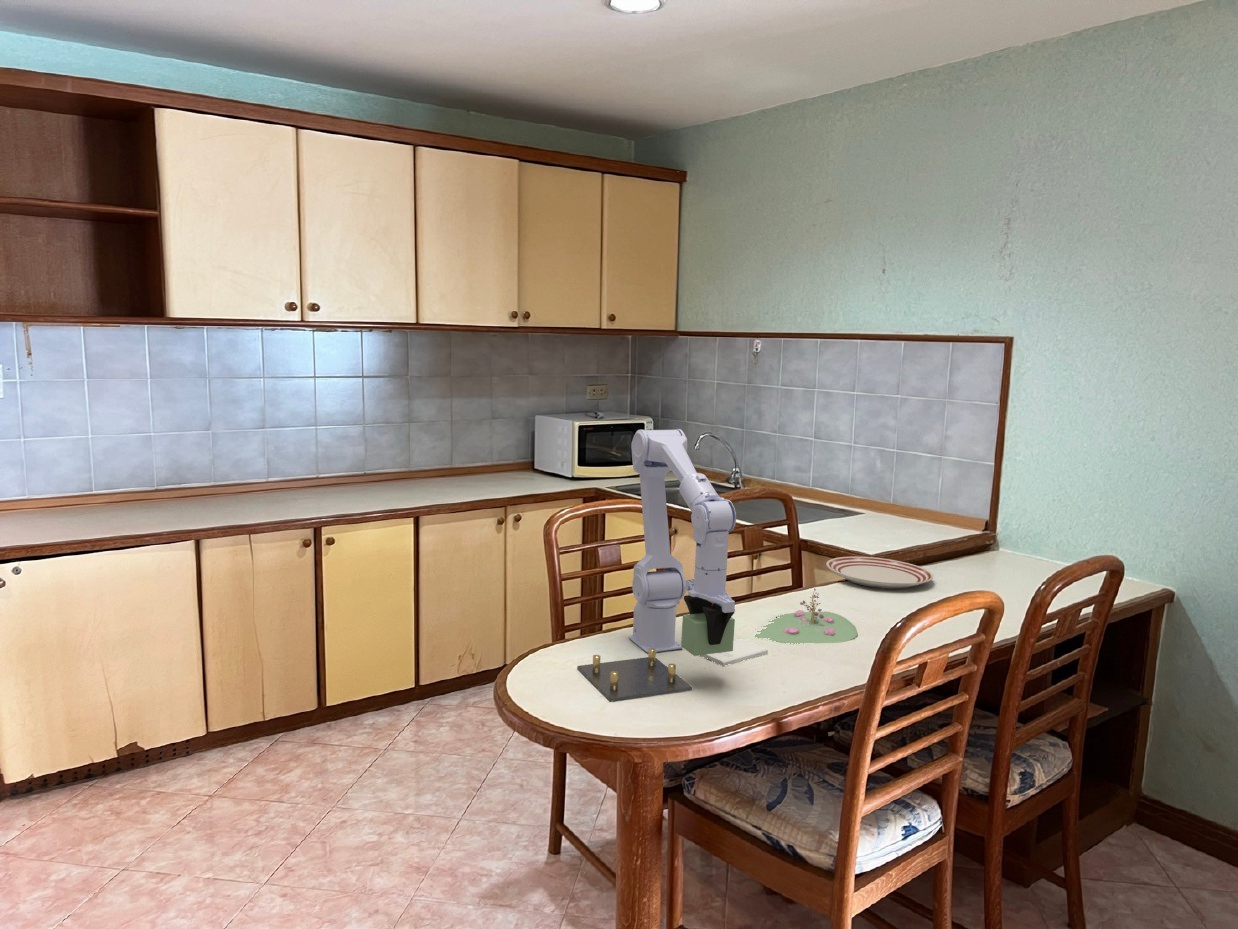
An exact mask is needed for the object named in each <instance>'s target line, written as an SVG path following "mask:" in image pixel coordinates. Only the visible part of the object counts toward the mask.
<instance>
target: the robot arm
mask: <svg viewBox="0 0 1238 929" xmlns="http://www.w3.org/2000/svg"><path fill="white" fill-rule="evenodd" d="M632 437H633V438H632V441H631V444H630V446H631V448H630V449H631V458H632V466H633V471H634V472H635V473H637V474H639V484H640V496H641V510H642V521H643V523H642V525H643V535H644V548H645V555H644V556H643V557H642V558H641V559H640V560H638V561H637V563H635V565H634V566H633V577H632V578H633V579H632V585H631V586H632V587H631V588H632V594H633V597H634V598H635V600H636V603H635V605H634V608H633V620H632V622H633V624H632V635H628V639H630V640H631V641H632V642H633V643H634V644H636V645H637V646H638V647H639V648H641V649H642V650H644V652H646V654H647V653H649V649H650V648H654V649H656V653H658V652H667V651H674V650H681V649H683V648H682V647H681V643H678V642H677V641H676V640H675V639H676V637H675V636H676V623H677V622H676V620H677V619H676V618H677V605H680V600H684V602H685V605H686V607H687V609H688V612H689V614H698V613H704V614H705V617H706V621H707V631H708V642H709V644H710V645H717V644H720V643H721V640H722V637H723V634H724V631H725V628H726V626H727V624H728V622H729V620H730V618H731V617H732V616H734V614H735V612H736V609H735V605H736V602H735V600H733V599H732V597H731V596H730V594H729V593H728V591H727V590H726V586H727V585H726V583H727V567H728V553H729V552H728V550H729V534H730V533H729V532H732V531H733V530H734V529H735V526H736V525H737V524H736V523H737V512H736V508H735V506H734V505H733V502H732V501H731V500H730V499H726V498H724V497H720V495H719V494H718V493H717V491H716V490H715V488H714V486H713V485H712V484H711V482H710V480H709V479H708V477H707V476H706V475H705V474H703V473H701V472H697V470H696V468H695V467H694V465H693V461H692V460H691V458H690V456H689V455H688V454H689V453H688V438H687V436H686V434H685V432H684V431H683V429H681V428H676V429H653V430H652V429H638V430H636V432H635V434H634V435H633V436H632ZM669 472H672V473H673V475H674V476H675V478H676V479H677V480H678V481H679V483H680V484H679V488H678V491H679V493H680V496H681V497H682V498H683V500H684V501H685V503H686V505H687V507H688V508H689V510H690V512H691V514H690V520H691V525H692V528H693V540H694V541H695V558H694V559H695V560H694V561H695V562H694V577H693V579H692V578H691V579H686V577H685V574H684V569H683V564H682V562H681V561H680V560H679V559H677V558H676V557H674V556H673V555H672V554H671V545H670V535H669V534H670V533H669V532H670V531H669V519H668V508H667V507H668V506H667V495H666V494H667V493H666V485H665V481H666V480H665V477H666V476H667V474H668V473H669ZM655 569H656V570H655ZM657 569H666V570H657ZM651 570H653V571H651ZM654 570H655V571H654ZM686 592H688V594H687V595H686ZM732 618H733V617H732Z"/></svg>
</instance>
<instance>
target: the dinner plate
mask: <svg viewBox="0 0 1238 929" xmlns="http://www.w3.org/2000/svg"><path fill="white" fill-rule="evenodd" d="M825 565H826V567H827V568H828V570H830V571H831V572H833V573H834V574H835V575H838V576H839V577H841V578H844V579H846V580H847V581H848V582H851V583H854V584H857V585H861V586H866V587H871V588H877V589H888V590H889V589H890V590H891V589H893V590H894V589H897V590H898V589H906V588H907V589H908V588H910V587H916V586H920V585H922V584H925V583H928V582H929V581H932V580H933V579H934V574H933V573H932V572H931V571H930V570H928V569H926V568H923V567H922V566H919V565H915V564H913V563H909V562H905V561H899V560H895V559H889V558H880V557H875V556H874V557H873V556H841V557H834V558H832V559H829V560H828V561H826V564H825Z"/></svg>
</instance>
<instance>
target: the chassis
mask: <svg viewBox="0 0 1238 929" xmlns="http://www.w3.org/2000/svg"><path fill="white" fill-rule="evenodd" d="M647 655H648V656H646V657H645V656H644V657H638V658H637V657H636V658H631V659H629V658H628V659H621V660H613V661H606V662H601V655H600V654H593V655H592V663H589V664H581V665H577V667H576V668H577V670H578V671H579V672H580V674H582V675H583V677H585V678H586V679H587V680H588V681H589V682H590V684H592V685H593V686H594V687H595V689H596V690H598V691H599V692H600V693H601V695H603V696H604V698H606V700H608V702H610V703H611V701H613V702H618V700H620V701H627V700H633V699H634V700H635V699H639V698H646V697H647V698H648V697H653V696H662V695H668V694H675V693H683V692H688V691H689V692H690V691H693V686H692V685H691V684H690V683H688V682H687V681H685V680H684V679H683V678H682V677H680V676H679V675H678V674H677V673H676V672H677V671H676V670H677V665H676V663H668V666H667V665H665V664H664V663H663V662H662V661H661V660H659V659H658V658H657V656H656V655H657V652H656V649H654V648H650V649H649V653H648V654H647Z"/></svg>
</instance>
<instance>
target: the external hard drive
mask: <svg viewBox="0 0 1238 929" xmlns="http://www.w3.org/2000/svg"><path fill="white" fill-rule="evenodd" d="M765 654H766V655H768V654H769V650H768V649H767V647H764V646H761V645H758V644H756V643H754V642H751V641H748V640H746V639H744V638H740V637H739V638H736V639H735V638H734V641H733V651H730V652H722V653H714V654H706V655H700V656H699V657H701V656H702V658H703V657H704V659H705V658H708V659H707V660H709V659H710V660H709V661H711V662H712V661H713V663H714V662H715V663H714V664H716V663H717V664H716V665H719V664H720V665H719V666H721V665H722V666H721V667H726V666H725V665H727V666H729V665H728V664H731V665H735V664H736V663H742V662H744V661H743V660H745V661H748V660H747V659H749V660H751V659H750V658H752V659H755V657H756V658H759V657H762V655H763V656H765Z"/></svg>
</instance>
